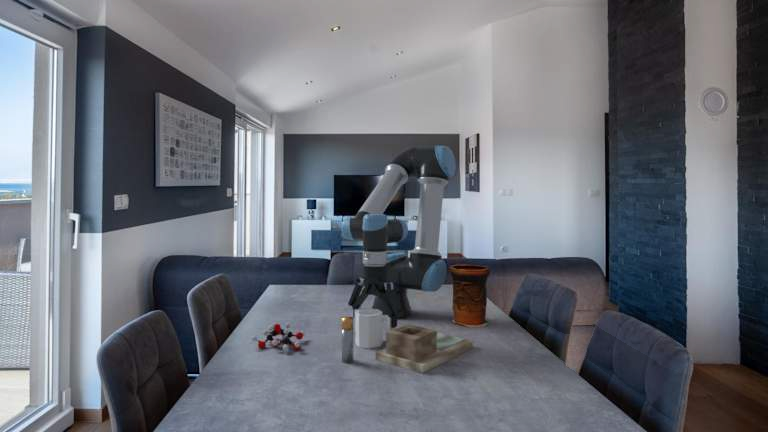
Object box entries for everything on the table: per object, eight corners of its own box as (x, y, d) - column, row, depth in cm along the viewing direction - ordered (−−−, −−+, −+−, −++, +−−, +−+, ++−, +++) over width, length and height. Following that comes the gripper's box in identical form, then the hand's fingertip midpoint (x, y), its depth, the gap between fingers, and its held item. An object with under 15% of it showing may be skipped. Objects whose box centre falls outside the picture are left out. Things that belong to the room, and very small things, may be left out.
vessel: (440, 321, 166) (441, 266, 165) (462, 314, 176) (463, 262, 176) (474, 330, 156) (476, 271, 155) (496, 322, 167) (497, 267, 166)
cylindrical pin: (339, 361, 128) (339, 318, 127) (347, 358, 130) (347, 315, 129) (347, 364, 125) (347, 320, 125) (355, 360, 128) (355, 317, 127)
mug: (355, 348, 138) (355, 316, 137) (355, 339, 146) (355, 308, 146) (395, 347, 139) (395, 315, 138) (393, 338, 147) (393, 308, 147)
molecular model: (281, 335, 151) (319, 331, 144) (263, 366, 141) (303, 363, 134) (265, 312, 146) (304, 307, 140) (246, 343, 136) (287, 339, 130)
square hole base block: (375, 359, 129) (375, 330, 129) (428, 336, 149) (428, 312, 148) (422, 373, 119) (422, 342, 118) (472, 347, 139) (473, 321, 138)
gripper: (337, 261, 146) (337, 328, 147) (399, 270, 130) (398, 344, 131) (353, 259, 152) (353, 323, 153) (415, 267, 136) (414, 338, 137)
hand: (374, 333), depth 142 cm, fingers open, 13 cm apart
